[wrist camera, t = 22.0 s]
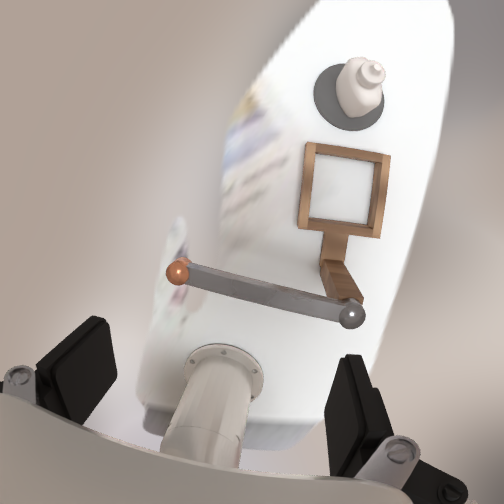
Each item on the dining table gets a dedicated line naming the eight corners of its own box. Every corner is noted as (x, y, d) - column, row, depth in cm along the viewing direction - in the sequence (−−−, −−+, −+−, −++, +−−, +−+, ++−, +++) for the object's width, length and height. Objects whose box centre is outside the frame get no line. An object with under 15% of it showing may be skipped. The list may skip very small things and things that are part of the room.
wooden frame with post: (364, 278, 38) (393, 323, 26) (291, 270, 39) (293, 315, 27) (382, 156, 34) (426, 152, 22) (305, 144, 35) (316, 131, 23)
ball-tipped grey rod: (365, 300, 26) (370, 309, 24) (356, 323, 27) (360, 332, 25) (174, 252, 26) (167, 258, 25) (171, 276, 27) (164, 283, 25)
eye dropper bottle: (371, 83, 31) (405, 52, 19) (361, 122, 33) (394, 103, 21) (338, 72, 31) (360, 33, 20) (327, 110, 33) (347, 85, 21)
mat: (380, 136, 33) (382, 136, 33) (311, 125, 34) (311, 124, 33) (383, 72, 31) (384, 71, 30) (315, 60, 31) (316, 58, 31)
